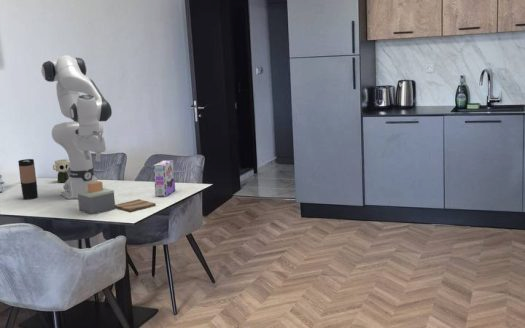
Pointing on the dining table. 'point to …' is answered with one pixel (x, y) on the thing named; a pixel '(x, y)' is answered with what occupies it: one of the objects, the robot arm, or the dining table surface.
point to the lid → (95, 190)
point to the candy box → (164, 178)
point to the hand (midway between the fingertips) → (92, 160)
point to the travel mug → (28, 179)
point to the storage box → (96, 203)
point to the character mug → (61, 169)
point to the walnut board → (134, 205)
